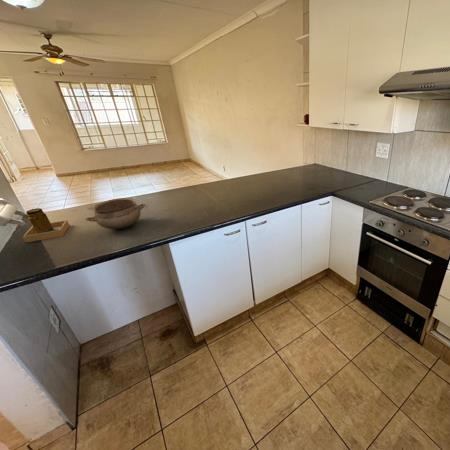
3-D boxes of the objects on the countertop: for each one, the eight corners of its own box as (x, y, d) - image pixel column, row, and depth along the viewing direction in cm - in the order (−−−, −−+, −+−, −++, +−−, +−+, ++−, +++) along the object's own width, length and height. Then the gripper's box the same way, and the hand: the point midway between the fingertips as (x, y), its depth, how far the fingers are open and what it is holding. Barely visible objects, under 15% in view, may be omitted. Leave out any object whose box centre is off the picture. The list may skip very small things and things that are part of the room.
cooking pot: (97, 242, 112) (86, 218, 106) (89, 228, 123) (79, 206, 118) (155, 224, 128) (148, 202, 122) (143, 213, 139) (137, 193, 134)
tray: (26, 242, 112) (22, 236, 110) (35, 231, 121) (32, 225, 120) (63, 235, 117) (60, 229, 116) (69, 225, 127) (67, 219, 125)
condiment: (36, 232, 119) (23, 209, 113) (59, 226, 124) (48, 205, 118) (36, 238, 114) (23, 214, 109) (60, 232, 119) (48, 209, 114)
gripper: (-21, 207, 96) (27, 222, 106) (-7, 193, 110) (34, 207, 120) (-31, 220, 95) (17, 234, 105) (-16, 204, 110) (26, 218, 120)
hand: (26, 220), depth 113 cm, fingers open, 8 cm apart
